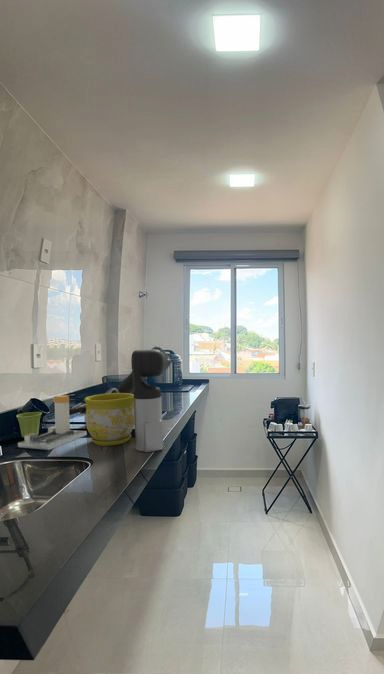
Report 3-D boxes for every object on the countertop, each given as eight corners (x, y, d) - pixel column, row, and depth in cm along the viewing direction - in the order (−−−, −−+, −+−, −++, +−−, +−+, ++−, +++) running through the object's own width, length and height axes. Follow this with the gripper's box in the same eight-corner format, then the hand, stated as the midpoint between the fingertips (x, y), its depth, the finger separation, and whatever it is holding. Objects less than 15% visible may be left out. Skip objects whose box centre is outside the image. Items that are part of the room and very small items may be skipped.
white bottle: (70, 432, 153) (69, 395, 153) (64, 434, 150) (63, 396, 150) (60, 431, 155) (59, 395, 155) (55, 433, 152) (53, 396, 152)
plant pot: (25, 440, 150) (24, 417, 150) (12, 437, 156) (11, 415, 156) (47, 434, 158) (46, 413, 158) (34, 432, 163) (33, 411, 163)
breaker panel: (86, 434, 155) (86, 425, 155) (48, 449, 135) (48, 439, 135) (58, 432, 160) (57, 424, 160) (17, 447, 140) (17, 437, 140)
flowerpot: (125, 448, 133) (124, 400, 133) (77, 447, 137) (75, 400, 137) (143, 435, 151) (141, 392, 151) (99, 434, 154) (97, 393, 154)
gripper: (107, 414, 169) (82, 422, 153) (82, 412, 174) (55, 421, 158) (106, 396, 169) (81, 403, 153) (81, 396, 174) (54, 402, 158)
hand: (68, 412), depth 156 cm, fingers closed
